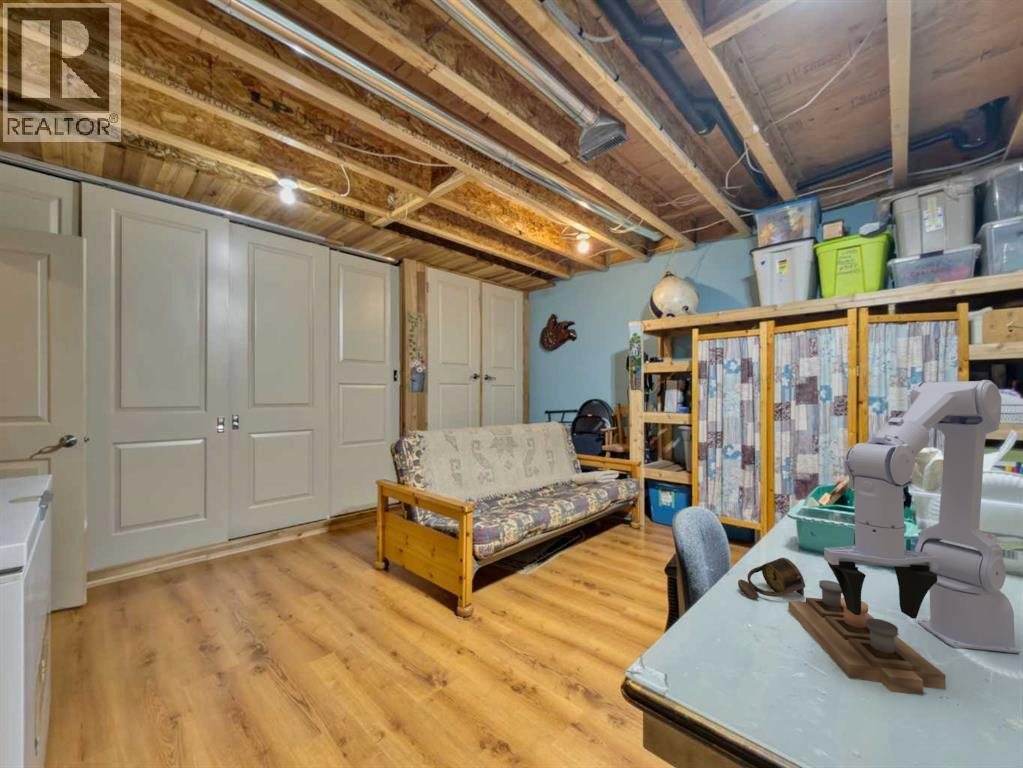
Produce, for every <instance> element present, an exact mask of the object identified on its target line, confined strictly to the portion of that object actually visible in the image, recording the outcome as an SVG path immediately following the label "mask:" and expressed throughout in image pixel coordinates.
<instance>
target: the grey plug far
mask: <svg viewBox="0 0 1023 768" xmlns="http://www.w3.org/2000/svg"><path fill="white" fill-rule="evenodd" d="M818 582H819V584H818V585H819V589H821V599H822V602H823V603H824V604H826V605H829V606H833V607H841V598H842V594H843V593H842V590H841V588H840V585H839V583H838V582H836V581H831V580H825V579H824V580H823V579H822V580H819V581H818Z"/></svg>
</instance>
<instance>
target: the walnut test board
mask: <svg viewBox="0 0 1023 768" xmlns="http://www.w3.org/2000/svg"><path fill="white" fill-rule="evenodd" d="M787 601H788V605H787V606H788V612H789V613H790V614H791V615H792V617H793V618H795V620H796V621H797V622H798V623H799V624H800V625H801V627H803V629H804V630H805V631H806V632H807V633H808V634H809V635H810V636H811V637H812V639H813V641H815V642H816V643H817V644H818V645H819V647H821V648H822V649H823V650H824V652H825V654H827V656H829V658H830V659H832V661H833V662H834V663H835V664H836V665H837V667H838V668H840V670H841V671H842V672H843V673H844V674H845V675H846V676H847V678H848V679H853V680H854V679H855V680H863V681H873V682H880V683H881V684H883V686H885V688H886V689H888V691H889V692H894V693H903V694H910V695H911V694H912V695H918V696H919V695H920V696H924V688H932V689H940V690H947V684H946V683H947V682H946V679H947V678H946V677H947V675H946V673H943V671H941V670H940V669H939V668H937V667H936V666H935V665H934V664H932V662H930V661H929V660H927V659H926V658H925V657H924V656H922V655H921V654H920V653H919V652H918V651H916V650H915V649H914V648H913V647H911V646H910V645H908V644H907V643H906V642H905V641H903V640H902V639H901V638H900V637H898V636H895V637H894V640H895V652H894V653H886V652H882V651H879V650H877V649H875V648H873V647H872V646H871V645H870V630H869V629H868V628H867V626H866V620H867V619H869V618H874V617H873V616H872V615H871V614H869V612H867V613H865V627H864V628H858V627H854V626H851V625H848V624H847V623H845V622H844V607H842V606H841V607H833V606H829V605H826V604H824V603H823V602H822V598H818V597H817V598H816V597H805V601H803V600H802V601H801V600H791V599H790V600H787Z"/></svg>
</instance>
